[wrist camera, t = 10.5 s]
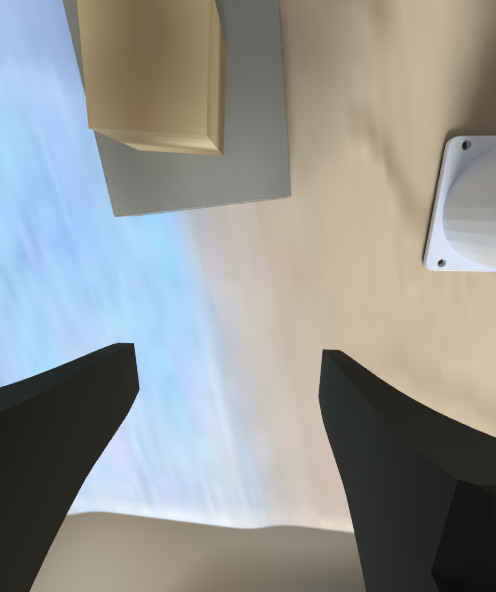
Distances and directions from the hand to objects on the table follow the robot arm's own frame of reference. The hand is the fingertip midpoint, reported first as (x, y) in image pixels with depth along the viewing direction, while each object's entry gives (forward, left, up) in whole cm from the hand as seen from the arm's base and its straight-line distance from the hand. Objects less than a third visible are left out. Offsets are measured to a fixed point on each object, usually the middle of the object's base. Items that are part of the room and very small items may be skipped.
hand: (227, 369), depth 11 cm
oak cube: (+3, -11, -7) cm, 13 cm away
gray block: (+3, -11, -11) cm, 16 cm away
